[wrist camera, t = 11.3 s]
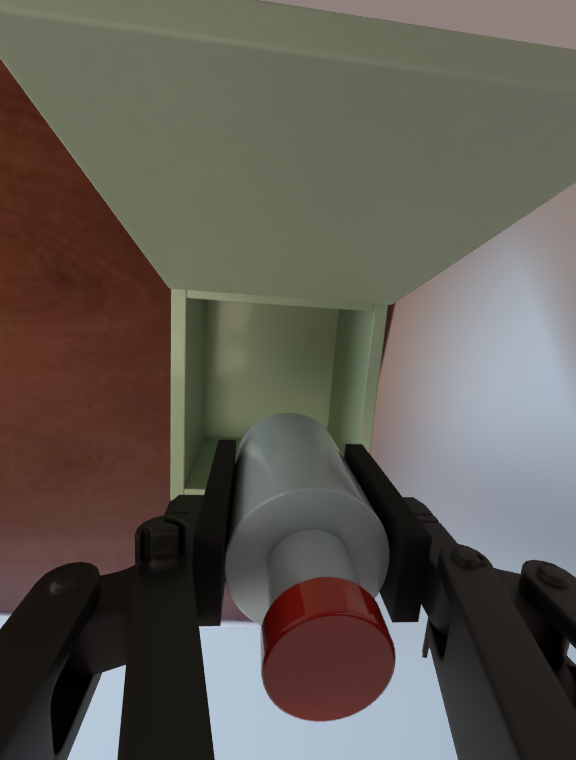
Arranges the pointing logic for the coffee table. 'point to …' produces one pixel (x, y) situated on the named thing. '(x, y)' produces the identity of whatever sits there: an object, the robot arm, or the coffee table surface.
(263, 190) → the lid
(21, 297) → the coffee table surface
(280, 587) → the bottle
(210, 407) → the box
